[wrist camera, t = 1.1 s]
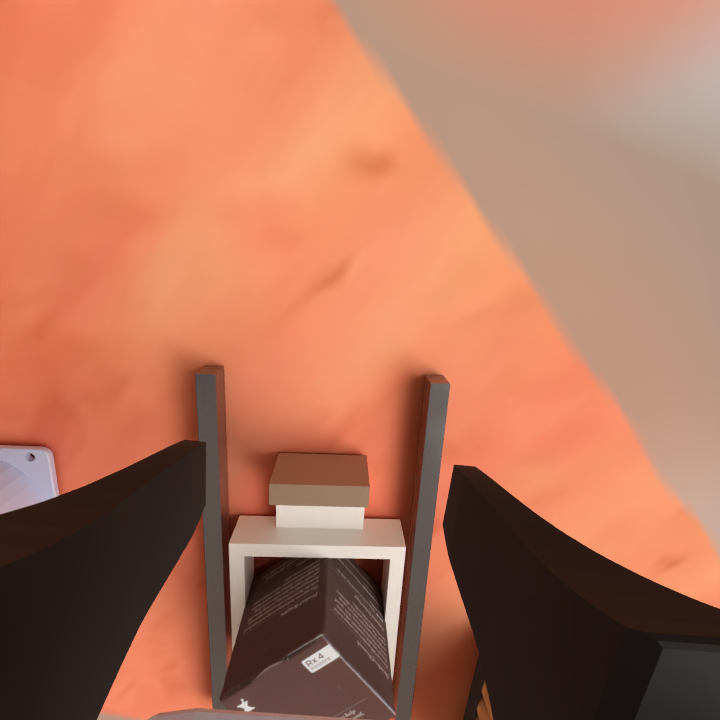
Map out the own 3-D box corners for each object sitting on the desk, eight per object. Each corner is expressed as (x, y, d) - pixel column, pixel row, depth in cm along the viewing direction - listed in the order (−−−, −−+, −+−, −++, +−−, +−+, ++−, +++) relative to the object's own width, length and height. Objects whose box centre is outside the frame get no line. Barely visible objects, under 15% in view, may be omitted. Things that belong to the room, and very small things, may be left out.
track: (220, 698, 28) (213, 723, 27) (205, 365, 22) (195, 373, 20) (406, 699, 29) (410, 722, 27) (443, 375, 23) (449, 384, 21)
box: (308, 636, 27) (295, 775, 20) (250, 575, 25) (213, 701, 18) (384, 590, 26) (400, 717, 19) (329, 525, 25) (323, 636, 17)
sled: (243, 642, 27) (229, 693, 24) (238, 451, 23) (221, 482, 20) (388, 643, 27) (394, 694, 24) (405, 456, 24) (415, 487, 20)
